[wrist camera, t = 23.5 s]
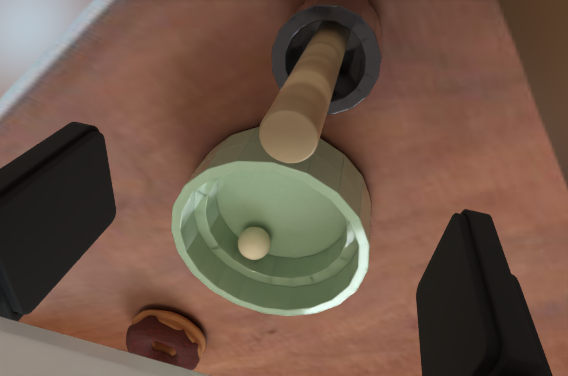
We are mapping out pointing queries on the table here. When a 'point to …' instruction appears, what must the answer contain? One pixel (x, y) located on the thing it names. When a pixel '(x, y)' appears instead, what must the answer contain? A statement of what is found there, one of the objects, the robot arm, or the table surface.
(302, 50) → the holder
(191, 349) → the donut
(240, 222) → the bowl
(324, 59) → the stick
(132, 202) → the table surface
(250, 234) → the ball
